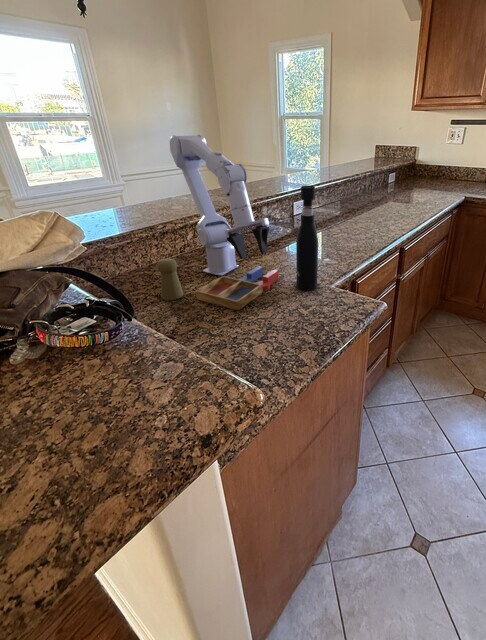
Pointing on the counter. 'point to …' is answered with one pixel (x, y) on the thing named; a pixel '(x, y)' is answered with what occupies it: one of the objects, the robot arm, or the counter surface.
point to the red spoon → (268, 279)
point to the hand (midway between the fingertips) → (254, 255)
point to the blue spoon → (253, 274)
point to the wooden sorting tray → (229, 292)
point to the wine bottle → (307, 244)
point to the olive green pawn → (169, 280)
